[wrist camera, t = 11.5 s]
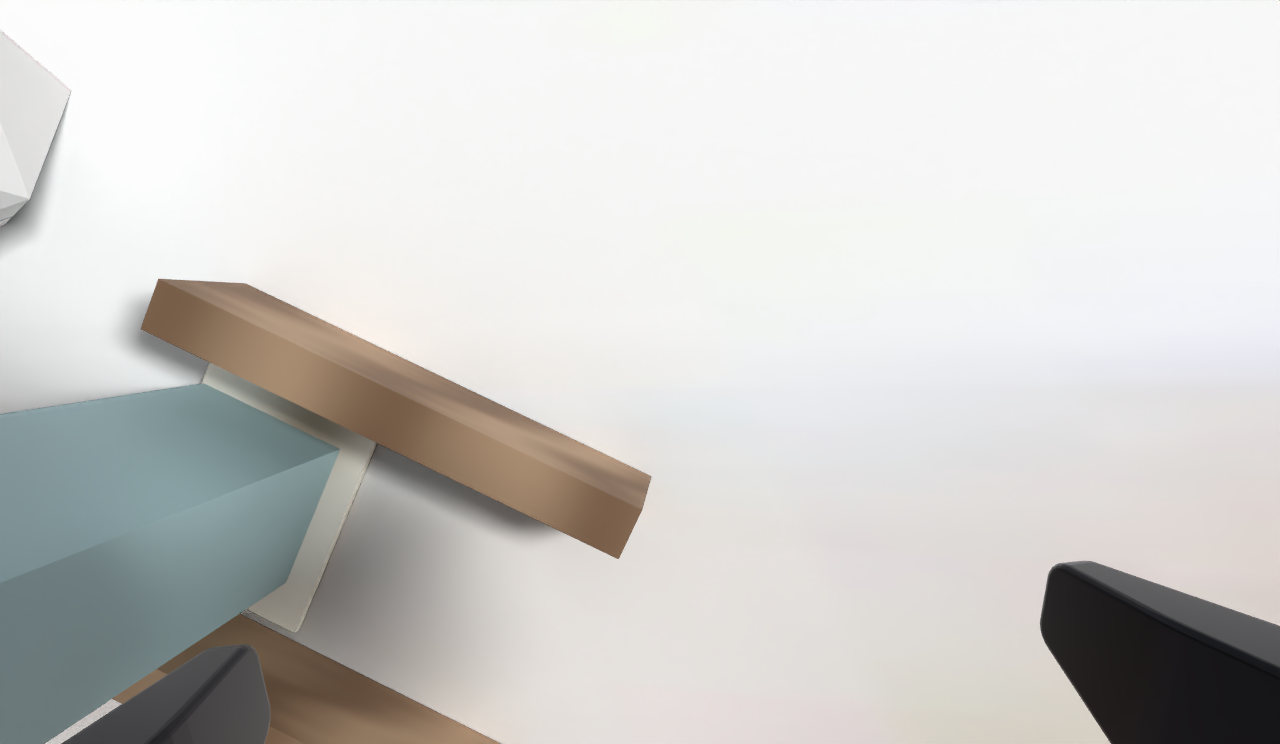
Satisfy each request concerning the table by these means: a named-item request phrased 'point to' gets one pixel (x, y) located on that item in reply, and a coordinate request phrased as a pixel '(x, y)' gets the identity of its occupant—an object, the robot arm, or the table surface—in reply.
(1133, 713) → the robot arm
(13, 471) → the block
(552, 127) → the table surface
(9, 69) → the die
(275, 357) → the channel
